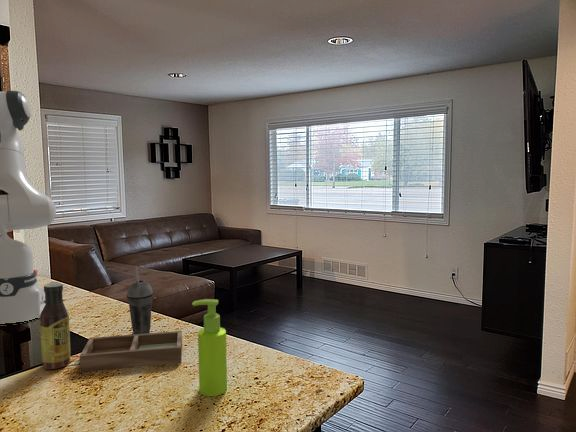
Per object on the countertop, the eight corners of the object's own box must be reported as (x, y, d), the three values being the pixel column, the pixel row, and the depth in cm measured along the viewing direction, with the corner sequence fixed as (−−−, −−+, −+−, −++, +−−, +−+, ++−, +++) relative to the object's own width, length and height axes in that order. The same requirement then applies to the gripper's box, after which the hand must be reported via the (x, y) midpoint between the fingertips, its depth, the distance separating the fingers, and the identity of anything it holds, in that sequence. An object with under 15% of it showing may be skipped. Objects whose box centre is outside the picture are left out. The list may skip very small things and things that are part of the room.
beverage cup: (160, 330, 129) (157, 263, 127) (144, 340, 122) (141, 269, 120) (139, 327, 132) (136, 262, 129) (122, 336, 125) (119, 267, 122)
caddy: (90, 352, 114) (89, 337, 114) (182, 345, 119) (181, 330, 119) (80, 372, 104) (79, 356, 103) (181, 363, 109) (180, 347, 108)
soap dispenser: (196, 383, 99) (194, 296, 96) (227, 382, 99) (226, 295, 97) (192, 397, 93) (190, 305, 90) (226, 396, 93) (224, 304, 91)
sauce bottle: (59, 372, 104) (53, 289, 101) (35, 369, 105) (30, 288, 103) (77, 360, 110) (72, 282, 108) (55, 357, 111) (50, 280, 109)
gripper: (-35, 172, 93) (16, 221, 97) (-33, 189, 109) (10, 231, 113) (-64, 190, 90) (-10, 240, 94) (-58, 205, 106) (-13, 248, 110)
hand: (1, 235), depth 104 cm, fingers open, 8 cm apart
